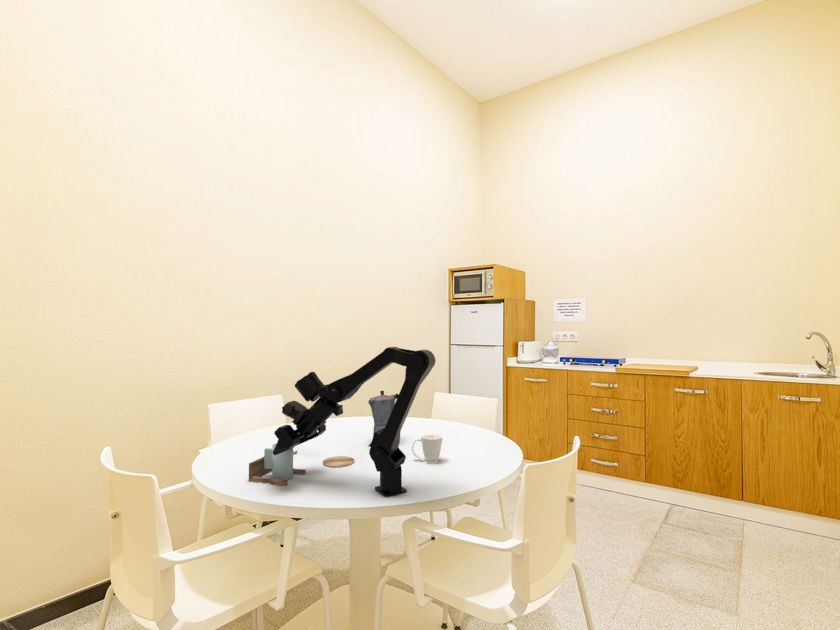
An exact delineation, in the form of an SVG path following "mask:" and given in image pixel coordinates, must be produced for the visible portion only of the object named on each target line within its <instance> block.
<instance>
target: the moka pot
mask: <svg viewBox="0 0 840 630" xmlns="http://www.w3.org/2000/svg"><path fill="white" fill-rule="evenodd" d="M379 392H380V395H377V396H373V397H370V398H369V400H368V401H367V404H369V406H370V410H371V414H372V419H373V423H374V425H373V433H372V435H374V433H375V432H376V431H378V430H380V429H381V428H385V426H386V424H387V421H388V419H389V417H390V414H391V412H392V410H393V407H394V405H395V402H396V400H397V398H398V395H399V393H396V394H391V395H388V394H385V390H380V391H379Z"/></svg>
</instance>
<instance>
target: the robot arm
mask: <svg viewBox="0 0 840 630" xmlns="http://www.w3.org/2000/svg"><path fill="white" fill-rule="evenodd" d="M392 364H396V365H398V366H402V367H406V368H405V372H404V373H405V376H404V381H403V384H402V386H401V388H400V392H399V393H398V398H397V399H395V405H394V407H393V410H392V412H391V414H390V417H389V419H388V421H387V424H386V426H385V428H381V429H380V430H378V431H376V432H375V433H374V435H373V434H372V435H373V436H372V440H371V442H370V444H368V447H369V451H368V452H369V453H368V454H369V456H370V459H371V460H372V462H373V464H374V467H375V470H376V472H379V485H378V486H375V487H374V489H375V491H377V492H378V493H379V494H381V495H382V496H384V497H391V496H396V495H399V494H403V493H406V492H407V489H406V488H405V487H403V486H402V485H403V484H402V483H403V482H402V480H403V479H402V477H403V476H402V475H403V474H402V473H403V472H402V465H403V464H404V463H405V460H406V458H407V456H406V454H405V453H404V452H403V451H402V450H401V449H400V448H399V446H400V442H401V431H402V428H403V427H404V424H405V421H406V419H407V416H408V414H409V413H410V410H411V407H412V405H413V403H414V400H415V397H416V396H417V393H418V391H419V390H420V387H421V385H422V383H423V382H424V381H425V379H426V378H427V376H429V374H430V373H431V371H432V369H433V368H434V366H435V364H436V357H435V355H434V353H433V352H432V351H431V350H429V349H419V350H414V349H413V350H411V349H405V348H401V347H398V346H389V347H386V348H384V349H383V351H382V352H381V353H379V354H378V355H376V356H375V357H374V358H372V359H371V360H369V361H367V362H366V363H365V364H364V365H362V366H361V367H359V368H358V369H356V370H355V371H353V373H351V374H348V375H346V376H343V377H341V378H339V379H336V380H335V381H332V382H331V383H328V384H327V383H326V384H324V383H323V381H321V379H320V377H318V375H317V373H316V372H315V371H310V372H309V373H308V374H306V375H304V376H302V377H301V378H300V379H298V380H297V381H296V382H295V384H294V388H295V389H296V390H297V392H298V393H299V394H300V395H301V397H302V398H303V399H304V400H305V402H311V403H313V404H312V405H311V406H310V408H308V407H307V406H305V405H303V404H302V403H300V402H299V401H296V400H291V401H288V402H286V403H284V405H283V406H282V407H281V409H282V410H281V412H282V414H283V415H284V416H286V417H288V418H290V419H292V421H291V422H292V424H293V425H295V428H296V429H294V428H293V426H291V424H284V425H280V426H278V428H277V429H275V431H274V432H273V433H274V435H275V436H276V438H277V439H278V440H277V442H276V443H277V444H276V443H275V444H276V446H275V448H274V450H273V454H274V455H277V454H280V453H282V452H285V451H287V450H290V449H292V448H296V447H297V446H298V445H299V446H300V445H301V444H303V443H306V442H308V441H310V440H312V439H315V438H317V437H319V436H321V435H323V434H324V432H326V430H327V425H326V423H327V420H328V419H329V418H330V417H331V416H333V414H334V416H335V417H338V416H341V415H343V414H344V409H343V407H344V405H343V404H339V403H341V402H343V401H346V400H347V401H348V400H349V399H351V398H353V396H354V395H355V394H357V392H359V389H361V387H362V386H363V385H364V384H365V383H366V382H368V381H369V380H371V379H372V378H373V377H374V376H376V375H378V374H380V372H382V371H383V370H385V369H386V368H388V367H389V366H390V365H392Z"/></svg>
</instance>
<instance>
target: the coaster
mask: <svg viewBox="0 0 840 630" xmlns="http://www.w3.org/2000/svg"><path fill="white" fill-rule="evenodd" d="M354 463H355V459H354V458H353V457H351V456H344V455H337V456H331V457H326V458H325V459H324V460H322V465H323V466H325V467H328V468H346V467H350V466H352V465H353V464H354Z"/></svg>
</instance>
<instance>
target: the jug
mask: <svg viewBox="0 0 840 630" xmlns="http://www.w3.org/2000/svg"><path fill="white" fill-rule="evenodd" d="M276 444H277V442H276V443H274V444H272V445H271V447H272V448H271V447H266V448H264V451H263V452H264V453H263V454H264V455H263V457H264V468H265V469H272V471H271V478H273V479H281V480H288V481H291V480H292V479H294V474H293V468H294V453H293V448H292V449H290V450H287V451H285V452H282V453H280V454H277V455H274V454H273V450H274V448H275V446H276Z"/></svg>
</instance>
